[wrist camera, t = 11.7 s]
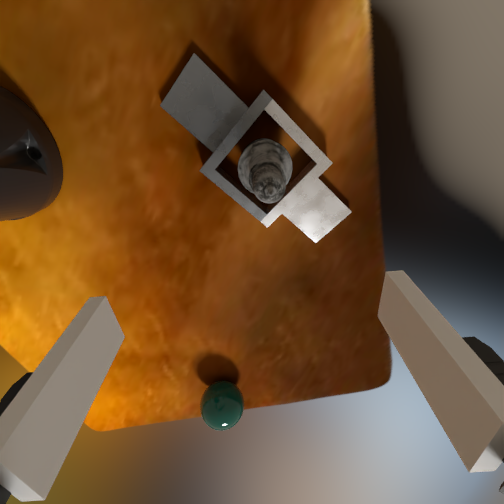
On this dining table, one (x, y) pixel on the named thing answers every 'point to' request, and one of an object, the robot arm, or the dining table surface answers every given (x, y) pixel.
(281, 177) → the grey chess piece
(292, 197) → the flanged square frame
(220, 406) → the sphere
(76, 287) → the dining table surface
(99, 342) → the robot arm
